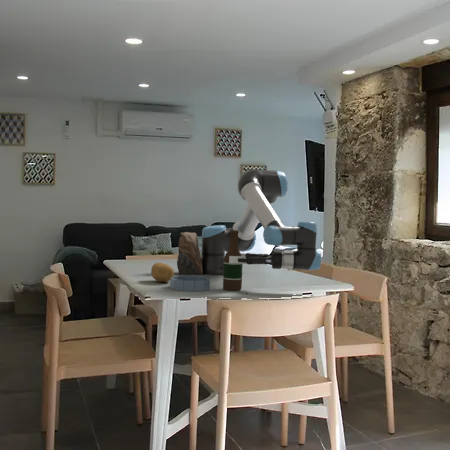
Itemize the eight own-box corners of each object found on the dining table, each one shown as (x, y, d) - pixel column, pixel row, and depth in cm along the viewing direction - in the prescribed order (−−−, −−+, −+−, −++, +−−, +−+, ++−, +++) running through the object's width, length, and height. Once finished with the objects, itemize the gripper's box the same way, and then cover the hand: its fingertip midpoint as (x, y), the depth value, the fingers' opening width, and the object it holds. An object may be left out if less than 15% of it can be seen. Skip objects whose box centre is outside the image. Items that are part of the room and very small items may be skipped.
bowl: (172, 284, 240) (172, 274, 240) (210, 285, 240) (211, 276, 240) (168, 290, 224) (168, 280, 224) (209, 291, 224) (209, 281, 224)
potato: (157, 284, 238) (157, 265, 238) (146, 280, 250) (147, 261, 250) (179, 284, 242) (179, 265, 242) (167, 279, 255) (168, 261, 254)
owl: (176, 274, 272) (178, 232, 271) (174, 271, 284) (175, 231, 283) (203, 275, 274) (204, 233, 273) (199, 271, 287) (200, 231, 286)
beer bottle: (224, 291, 227) (226, 230, 226) (221, 288, 235) (223, 229, 234) (243, 291, 229) (245, 231, 228) (239, 288, 236) (241, 230, 235)
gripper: (284, 272, 219) (228, 270, 219) (279, 265, 243) (229, 263, 244) (285, 253, 218) (229, 251, 218) (279, 247, 243) (229, 246, 243)
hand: (229, 257), depth 231 cm, fingers open, 13 cm apart
